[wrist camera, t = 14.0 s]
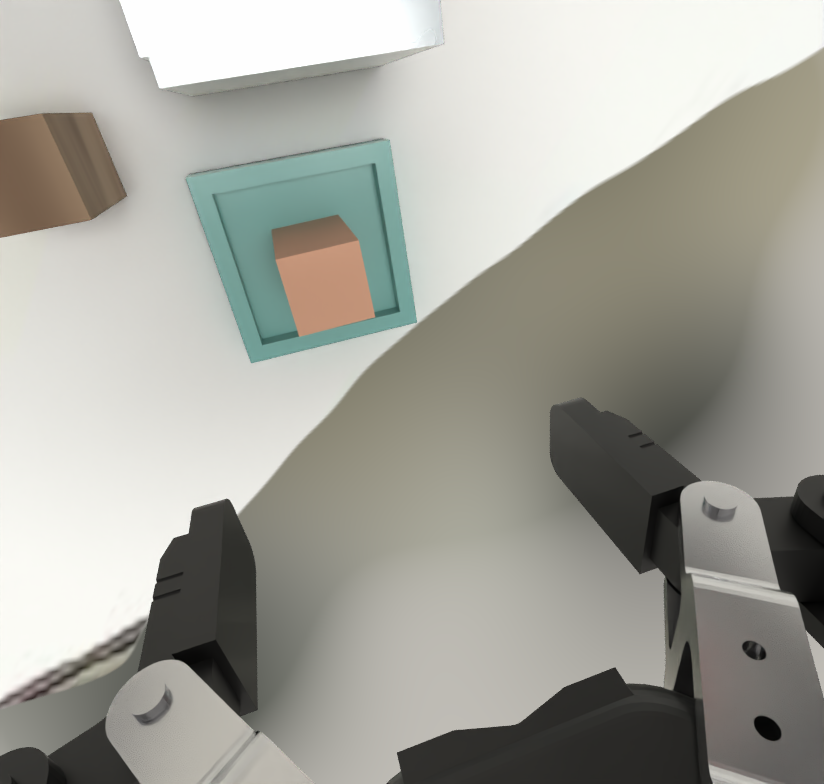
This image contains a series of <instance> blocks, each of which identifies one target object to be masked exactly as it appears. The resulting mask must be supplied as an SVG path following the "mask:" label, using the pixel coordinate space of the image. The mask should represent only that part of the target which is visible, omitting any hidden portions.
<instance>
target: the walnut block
mask: <svg viewBox="0 0 824 784" xmlns="http://www.w3.org/2000/svg"><path fill="white" fill-rule="evenodd" d="M126 196H127V195H126V192H125V190H124V188H123V185H122V183H121V181H120V178H119V176H118V173H117V171H116V169H115V166H114V164H113V162H112V159H111V157H110V155H109V152H108V150H107V147H106V145H105V143H104V140H103V138H102V136H101V133H100V131H99V128H98V126H97V124H96V121H95V119H94V117H93V114H92V113H44V114H36V115H30V116H23V117H17V118H11V119H5V120H0V238H1V237H7V236H12V235H17V234H22V233H27V232H32V231H37V230H42V229H47V228H53V227H58V226H63V225H68V224H73V223H78V222H83V221H88V220H92V219H94V218H95V217H97V216H98V215H100V214H101V213H103V212H104V211H106V210H107V209H108V208H110V207H111V206H113V205H114V204H116V203H117V202H119V201H120V200H122V199H123V198H125V197H126Z"/></svg>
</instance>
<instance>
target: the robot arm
mask: <svg viewBox="0 0 824 784" xmlns="http://www.w3.org/2000/svg"><path fill="white" fill-rule="evenodd" d="M550 458H551V462H552V465H553V467H554V470H555V472H556V473H557V475H558V476H559V478H560V479H561V480H562V481H563V483H564V484H565V485H566V486H567V487H568V489H569V490H570V491H571V492H572V493H573V495H575V497H576V498H577V499H578V501H580V503H581V504H582V505H583V506H584V507H585V509H586V510H587V511H588V513H589V514H590V515H591V516H592V517H593V518H594V520H595V521H596V522H597V523H598V524H599V526H600V527H601V528H602V529H603V530H604V532H605V533H606V534H607V535H608V536H609V538H610V539H611V540H612V541H613V542H614V544H615V545H616V546H617V547H618V548H619V550H620V551H621V552H622V553H623V554H624V556H625V557H626V558H627V559H628V560H629V562H630V563H631V564H632V565H633V566H634V568H635V569H636V570H637V571H638V572H639V574H642V573H644V572H647V571H650V570H653V569H655V568H659V569H660V571H661V572H662V573H663V574H664V575H665V578H664V585H663V586H664V622H665V655H666V657H665V659H666V660H665V661H666V662H665V676H664V687H663V688H662V687H658V686H652V685H646V684H626V683H625V682H624V680H623V679H622V677H621V676H620V674H619V673H618V671H617V670H616V668H612V669H610V670H607V671H604V672H602V673H599V674H597V675H594V676H592V677H589V678H587V679H584V680H582V681H579V682H576V683H574V684H571V685H569V686H566V687H564V688H563V689H562V690H560V691H559V692H558V693H557V694H555V695H554V696H553V697H552V698H550V699H549V700H548V701H547V702H545V703H544V704H543V705H542V706H540V707H539V708H538V709H537V710H535V711H534V712H533V713H532V714H531V715H529V716H528V717H527V718H526V719H524V720H523V721H522V722H520V723H519V724H516V725H511V726H500V727H490V728H477V729H466V730H454V731H451V732H449V733H446V734H444V735H441V736H438V737H436V738H433V739H431V740H428V741H426V742H423V743H421V744H418V745H415V746H413V747H410V748H408V749H405V750H403V751H400V752H397V755H398V760H399V764H400V769H401V772H399V773H398V774H397V775H396V776H394V777H393V778H392V779H391V780H389V782H388V783H387V784H824V698H823V694H822V690H821V686H820V683H819V679H818V675H817V671H816V668H815V664H814V660H813V656H812V653H811V649H810V646H809V642H808V638H807V634H806V631H807V632H808V633H809V634H810V635H811V636H812V637H813V638H814V639H815V640H816V641H817V642H818V643H819V644H820V645H821V646H822V647H823V648H824V475H815V476H810V477H807V478H805V479H803V480H802V481H801V482H800V483H799V484H798V487H797V490H796V493H795V495H794V497H774V498H752V497H751V496H750V495H748V494H747V493H745V492H744V491H742V490H741V489H739V488H736V487H734V486H732V485H729V484H725V483H721V482H715V481H701V480H700V479H699V478H697V477H696V476H695V475H694V474H693V473H691V472H690V471H689V470H688V469H686V468H685V467H684V466H683V465H682V464H680V463H679V462H678V461H677V460H676V459H674V458H673V457H672V456H671V455H670V454H668V453H667V452H666V451H665V450H663V449H662V448H661V447H660V446H659V445H658V444H656V445H655V444H654V441H653V440H651V439H650V438H649V437H648V436H647V435H645V434H642V431H641V430H639V429H638V428H637V427H635V426H634V425H633V424H632V423H631V422H630V421H629V420H627V419H625V418H623V417H620V416H618V415H616V414H613V413H611V412H609V411H604V412H600V411H598V410H597V409H596V408H595V407H594V406H593V405H591V404H590V403H589V402H588V401H587V400H585V399H584V398H577V399H573V400H570V401H567V402H563V403H560V404H556V405H553V406H552V408H551V411H550ZM156 581H157V584H155V589H154V594H153V602H152V604H151V609H150V614H149V619H148V624H147V629H146V634H145V639H144V644H143V649H142V654H141V660H140V664H139V668H138V672H137V674H136V675H135V676H133V677H132V678H131V679H130V680H129V681H128V682H127V683H126V684H125V685H124V686H123V687H122V688H121V690H120V691H119V692H118V694H117V695H116V697H115V698H114V700H113V702H112V704H111V706H110V708H109V711H108V714H107V716H106V717H105V718H104V719H103V720H102V721H100V722H99V723H97V724H96V725H95V726H93V727H92V728H91V729H89V730H87V731H86V732H84V733H82V734H81V735H79V736H78V737H76V738H75V739H73V740H72V741H70V742H69V743H67V744H65V745H64V746H62V747H61V748H59V749H58V750H56V751H55V752H53V753H52V754H50V755H49V756H47V755H45V754H44V753H43V752H42V751H40V750H39V749H36V748H33V747H26V748H19V749H16V750H13V751H10V752H8V753H6V754H4V755H2V756H0V784H315V783H314V782H313V781H311V780H310V778H309V777H308V776H307V775H306V774H305V773H304V772H303V771H302V770H301V769H299V768H298V767H297V766H296V765H295V764H294V763H293V762H292V761H291V760H290V759H289V758H288V757H287V756H286V755H285V754H284V753H283V752H282V751H281V750H280V749H279V748H278V747H277V746H276V745H275V744H274V743H273V742H272V741H271V740H270V739H269V738H267V737H266V736H265V735H264V734H263V733H262V732H260V731H257V732H255V731H254V730H252V729H251V728H250V727H249V726H248V725H247V724H246V723H245V722H244V721H243V720H242V719H241V718H240V716H242V715H245V714H248V713H251V712H254V711H256V710H257V709H258V702H257V701H258V700H257V625H256V624H257V622H256V566H255V560H254V556H253V551H252V548H251V545H250V543H249V540H248V539H247V536H246V534H245V532H244V529H243V527H242V525H241V523H240V521H239V519H238V516H237V514H236V512H235V510H234V507H233V505H232V503H231V502H230V500H229V499H224V500H221V501H217V502H214V503H211V504H207V505H204V506H200V507H197V508H194V509H193V511H192V514H191V521H190V528H189V534H186V535H183V536H179V537H176V538H174V539H173V540H172V542H171V543H170V545H169V546H168V548H167V549H166V551H165V553H164V554H163V556H162V557H161V559H160V563H159V568H158V573H157V578H156Z"/></svg>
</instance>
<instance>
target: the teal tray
mask: <svg viewBox="0 0 824 784" xmlns="http://www.w3.org/2000/svg"><path fill="white" fill-rule="evenodd" d="M186 181H187V184H188V186H189V189H190V192H191V195H192V198H193V201H194V203H195V206H196V209H197V212H198V215H199V218H200V220H201V223H202V226H203V229H204V232H205V234H206V237H207V240H208V243H209V246H210V249H211V251H212V254H213V257H214V260H215V263H216V265H217V268H218V271H219V274H220V277H221V280H222V282H223V285H224V288H225V291H226V294H227V296H228V299H229V302H230V305H231V308H232V311H233V313H234V316H235V319H236V322H237V325H238V327H239V330H240V333H241V336H242V339H243V342H244V344H245V347H246V350H247V353H248V356H249V358H250V361H251V363H254V362H259V361H263V360H267V359H271V358H275V357H279V356H283V355H287V354H291V353H295V352H299V351H303V350H307V349H311V348H315V347H319V346H323V345H327V344H332V343H336V342H340V341H344V340H348V339H352V338H356V337H360V336H364V335H368V334H372V333H376V332H380V331H384V330H388V329H392V328H396V327H400V326H404V325H409V324H413V323H417V320H416V313H415V306H414V300H413V293H412V286H411V280H410V273H409V266H408V259H407V253H406V246H405V239H404V233H403V226H402V219H401V213H400V206H399V199H398V193H397V186H396V179H395V173H394V166H393V159H392V153H391V146H390V140H387V139H378V140H372V141H367V142H361V143H356V144H351V145H345V146H340V147H334V148H329V149H323V150H318V151H313V152H307V153H302V154H296V155H291V156H286V157H280V158H275V159H269V160H264V161H258V162H253V163H248V164H242V165H237V166H231V167H226V168H221V169H215V170H210V171H204V172H199V173H194V174H189V175H188V176H187V177H186ZM334 215H339V216H340V217H341V219H342V220H343V221H344V222H345V224H346V225H347V226H348V227H349V229H350V230H351V231H352V232H353V234H354V235H355V236H356V237H357V239H358V240H359V244H360V248H361V253H362V258H363V262H364V267H365V272H366V276H367V281H368V285H369V290H370V295H371V299H372V304H373V309H374V313H375V317H374V318H370V319H366V320H362V321H359V322H355V323H351V324H347V325H343V326H339V327H336V328H332V329H328V330H324V331H320V332H316V333H312V334H309V335H305V336H301V337H299V334H298V331H297V328H296V324H295V321H294V318H293V315H292V312H291V308H290V305H289V302H288V299H287V295H286V292H285V289H284V286H283V282H282V279H281V276H280V273H279V270H278V266H277V263H276V260H275V253H274V245H273V238H272V231H271V230H272V229H276V228H281V227H285V226H289V225H294V224H298V223H303V222H307V221H311V220H316V219H320V218H325V217H329V216H334Z"/></svg>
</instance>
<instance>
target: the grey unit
mask: <svg viewBox="0 0 824 784" xmlns="http://www.w3.org/2000/svg"><path fill="white" fill-rule="evenodd" d="M120 3H121V5H122V8H123V11H124V14H125V17H126V19H127V22H128V25H129V28H130V31H131V33H132V36H133V39H134V42H135V45H136V47H137V50H138V53H139V56H140V57H141V58H143V59H145V60H147V61H149V62H150V63H151V66H152V69H153V71H154V74H155V77H156V80H157V83H158V86H159V89H164V90H168V91H172V92H177V93H181V94H186V95H190V96H199V95H205V94H211V93H217V92H224V91H230V90H236V89H242V88H248V87H255V86H261V85H267V84H273V83H279V82H286V81H292V80H298V79H304V78H310V77H317V76H323V75H329V74H335V73H341V72H348V71H354V70H360V69H366V68H372V67H379V66H382V65H385V64H388V63H391V62H394V61H397V60H399V59H402V58H405V57H408V56H411V55H414V54H417V53H419V52H422V51H425V50H428V49H431V48H434V47H436V46H439V45H442V44H444V34H443V23H442V12H441V1H440V0H120Z"/></svg>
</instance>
